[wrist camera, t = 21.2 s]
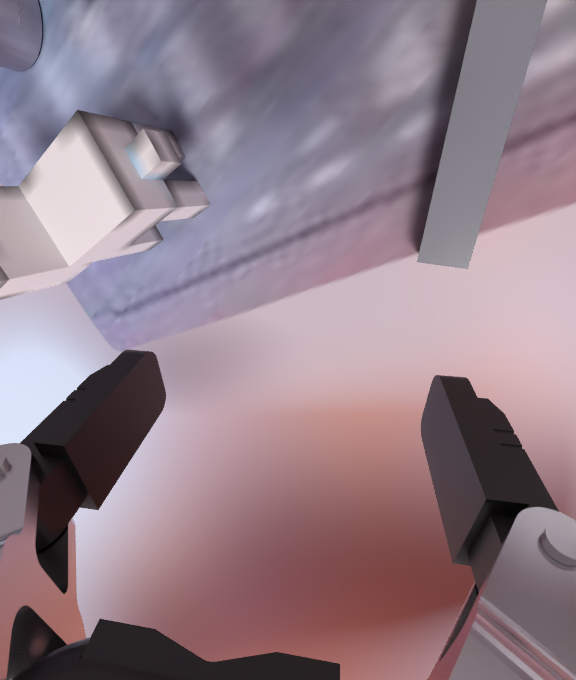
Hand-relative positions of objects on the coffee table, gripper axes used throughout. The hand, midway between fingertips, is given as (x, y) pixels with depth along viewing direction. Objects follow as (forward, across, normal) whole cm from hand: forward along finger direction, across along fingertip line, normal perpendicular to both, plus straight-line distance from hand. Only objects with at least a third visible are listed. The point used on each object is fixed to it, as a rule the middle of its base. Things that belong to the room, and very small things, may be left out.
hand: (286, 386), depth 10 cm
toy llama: (+28, +19, 0) cm, 34 cm away
